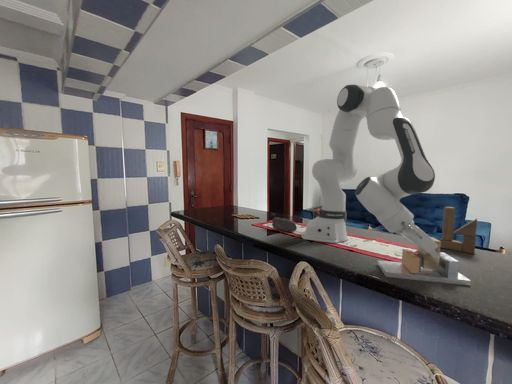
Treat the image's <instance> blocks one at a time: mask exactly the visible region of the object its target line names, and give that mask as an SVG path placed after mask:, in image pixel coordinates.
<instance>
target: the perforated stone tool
mask: <svg viewBox="0 0 512 384" xmlns="http://www.w3.org/2000/svg"><path fill="white" fill-rule="evenodd" d="M271 226H272V228H273V229H275V230H278V231H282V232H288V233H289V232H290V233H291V232H292V233H293V232H295V231H297V228H298V227H297V224H296V223H295V222H293V221H292V220H291V219H287V218H282V217H277V216H275V217H273V218H272V221H271Z"/></svg>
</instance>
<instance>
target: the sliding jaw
mask: <svg viewBox="0 0 512 384" xmlns="http://www.w3.org/2000/svg"><path fill="white" fill-rule="evenodd" d="M401 253H402V254H401V262H402V264H403V265H404V266H405V267H406V268H407V269H408V270H409V271H410V272H411V273H419V272H421V261H422V258H420V257H419V256H418V255H417V253H415V252H414V251H413V250H412V249H411V250H410V249H404V248H403V249H402V251H401Z"/></svg>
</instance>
